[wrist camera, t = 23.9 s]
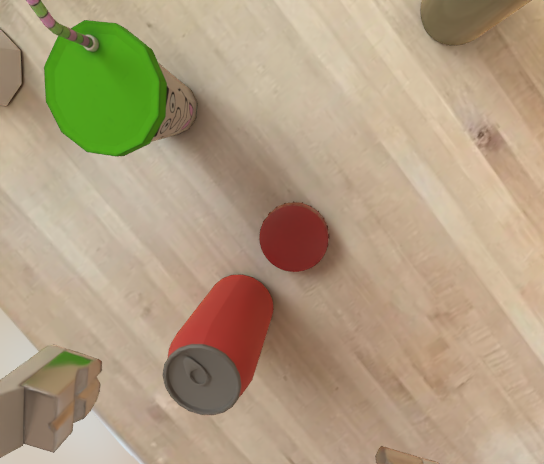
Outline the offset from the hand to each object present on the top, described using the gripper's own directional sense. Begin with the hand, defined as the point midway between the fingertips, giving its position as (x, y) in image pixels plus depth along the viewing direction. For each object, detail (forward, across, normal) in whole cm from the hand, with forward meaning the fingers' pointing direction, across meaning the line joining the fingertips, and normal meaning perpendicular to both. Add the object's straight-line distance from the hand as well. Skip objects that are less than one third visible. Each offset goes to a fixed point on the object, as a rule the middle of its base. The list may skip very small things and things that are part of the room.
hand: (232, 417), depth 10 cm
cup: (+23, +14, -8) cm, 28 cm away
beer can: (+23, +4, +9) cm, 25 cm away
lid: (+22, 0, +1) cm, 22 cm away
